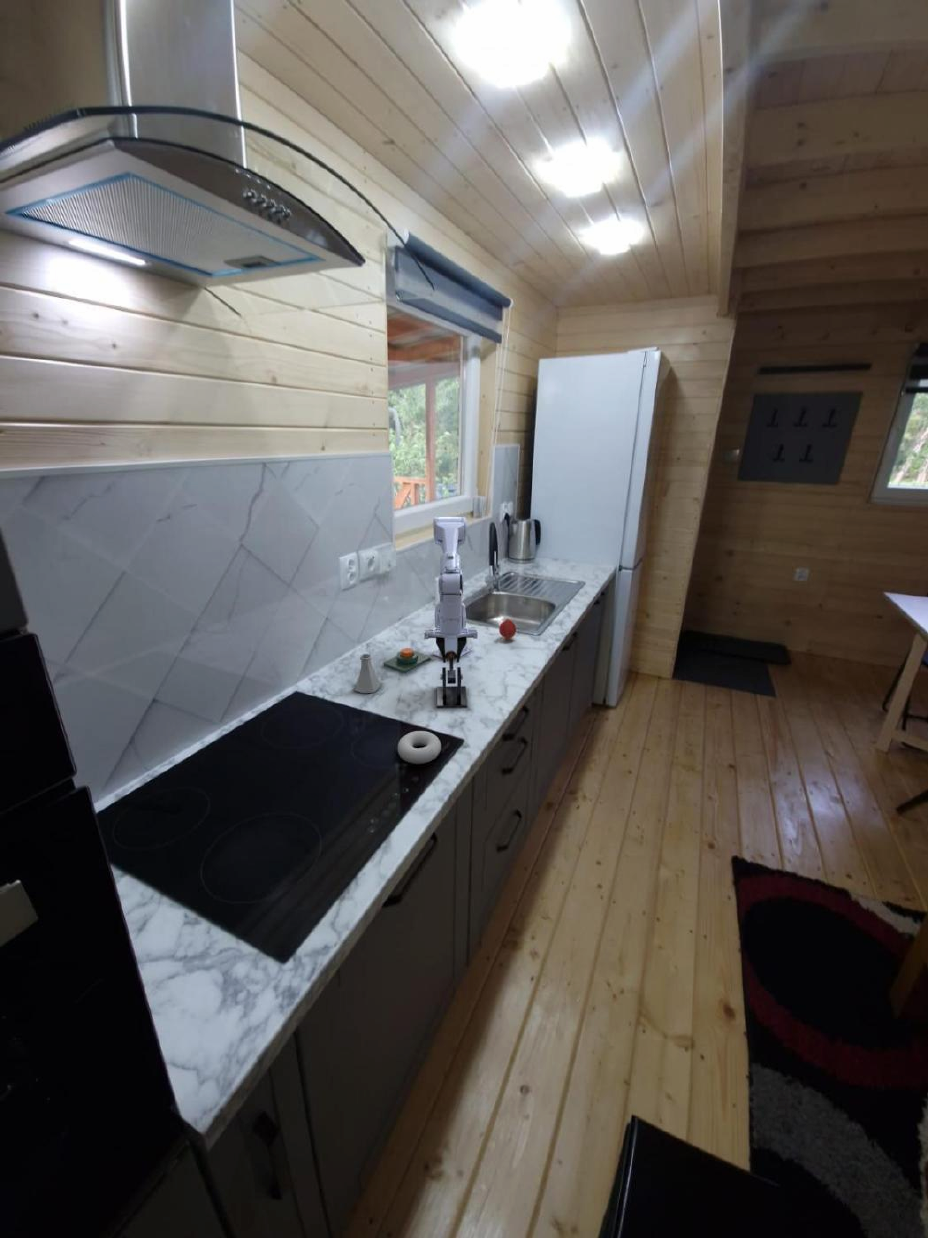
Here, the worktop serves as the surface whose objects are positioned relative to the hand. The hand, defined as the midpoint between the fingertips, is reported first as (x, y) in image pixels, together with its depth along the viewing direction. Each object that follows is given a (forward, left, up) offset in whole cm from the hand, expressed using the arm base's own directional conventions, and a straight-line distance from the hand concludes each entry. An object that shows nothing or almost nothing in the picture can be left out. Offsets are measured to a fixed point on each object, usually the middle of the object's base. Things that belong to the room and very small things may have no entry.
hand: (451, 661), depth 139 cm
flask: (+15, -19, -8) cm, 25 cm away
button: (-3, -20, -5) cm, 21 cm away
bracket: (+6, +4, -8) cm, 11 cm away
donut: (+29, +12, -8) cm, 32 cm away
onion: (-37, -4, -8) cm, 38 cm away
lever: (+2, +2, -1) cm, 3 cm away
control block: (-3, -20, -8) cm, 21 cm away
